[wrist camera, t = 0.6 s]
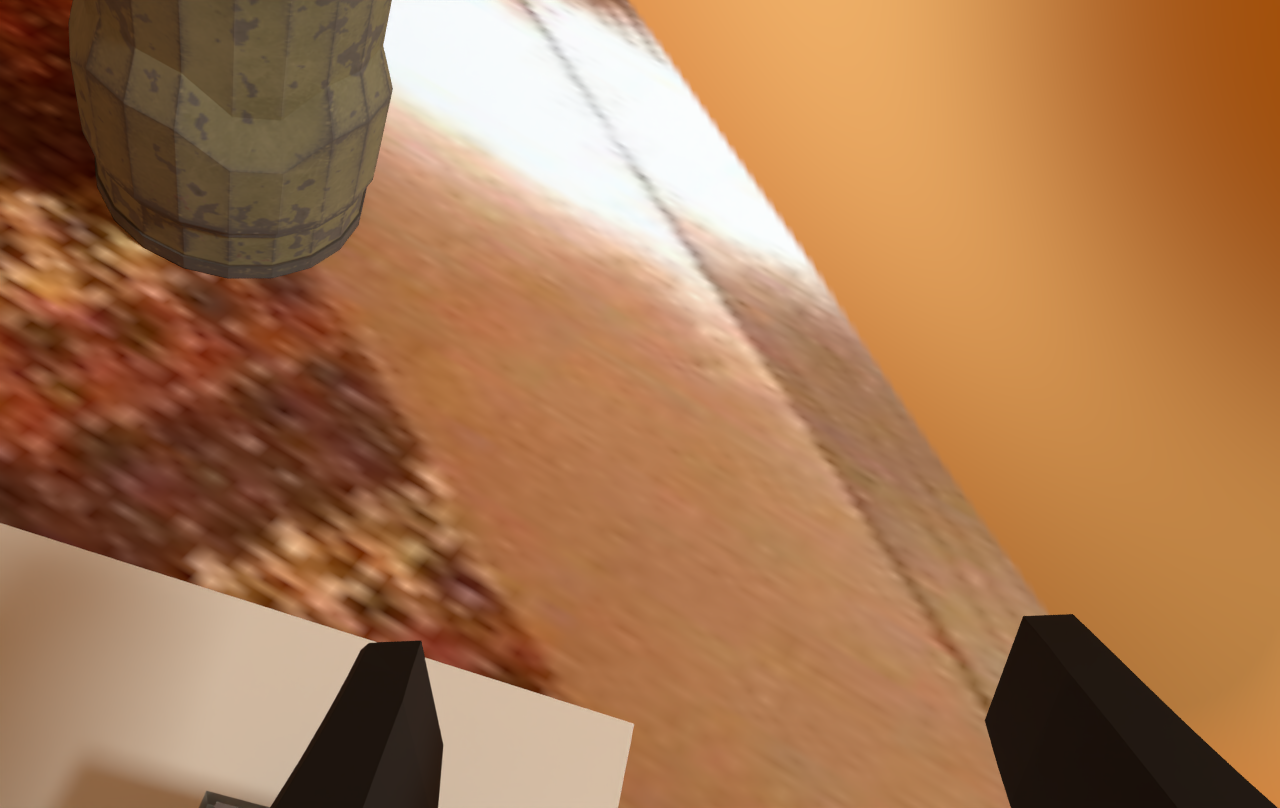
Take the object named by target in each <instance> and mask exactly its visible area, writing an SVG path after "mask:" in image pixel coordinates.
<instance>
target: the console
mask: <svg viewBox="0 0 1280 808" xmlns="http://www.w3.org/2000/svg"><path fill="white" fill-rule="evenodd" d="M368 643H377V642H374V641H371V640H368V639H365V638H361V637H358V636H355V635H352V634H349V633H346V632H342V631H339V630H336V629H333V628H330V627H327V626H324V625H320V624H317V623H314V622H311V621H308V620H305V619H301V618H298V617H295V616H292V615H289V614H286V613H283V612H279V611H276V610H273V609H270V608H267V607H264V606H260V605H257V604H254V603H251V602H248V601H245V600H241V599H238V598H235V597H232V596H229V595H226V594H223V593H219V592H216V591H213V590H210V589H207V588H204V587H200V586H197V585H194V584H191V583H188V582H185V581H182V580H178V579H175V578H172V577H169V576H166V575H163V574H159V573H156V572H153V571H150V570H147V569H144V568H141V567H137V566H134V565H131V564H128V563H125V562H122V561H118V560H115V559H112V558H109V557H106V556H103V555H99V554H96V553H93V552H90V551H87V550H84V549H81V548H77V547H74V546H71V545H68V544H65V543H62V542H58V541H55V540H52V539H49V538H46V537H43V536H40V535H36V534H33V533H30V532H27V531H24V530H21V529H17V528H14V527H11V526H8V525H5V524H2V523H0V808H214V806H215V804H216V802H221V803H224V804H228V805H232V806H236V807H240V808H270V807H271V805H272V804H273V802H274V800H275V799H276V797H277V796H278V794H279V792H280V791H281V789H282V788H283V786H284V784H285V783H286V781H287V780H288V778H289V776H290V775H291V773H292V772H293V770H294V768H295V767H296V765H297V764H298V762H299V760H300V759H301V757H302V755H303V754H304V752H305V750H306V749H307V747H308V745H309V743H310V742H311V740H312V738H313V737H314V735H315V733H316V731H317V730H318V728H319V726H320V725H321V723H322V721H323V719H324V718H325V716H326V714H327V712H328V711H329V709H330V707H331V705H332V703H333V702H334V700H335V698H336V696H337V694H338V693H339V691H340V689H341V687H342V685H343V683H344V681H345V679H346V678H347V676H348V674H349V672H350V670H351V668H352V666H353V664H354V662H355V660H356V658H357V656H358V654H359V652H360V650H361V649H362V648H363V647H365V646H366V645H367V644H368ZM425 661H426V665H427V670H428V675H429V680H430V684H431V689H432V694H433V698H434V703H435V708H436V712H437V717H438V722H439V727H440V731H441V736H442V741H443V757H442V769H441V781H440V793H439V803H438V808H618V805H619V799H620V794H621V789H622V784H623V779H624V774H625V769H626V763H627V758H628V753H629V748H630V743H631V738H632V732H633V727H634V724H633V723H630V722H626V721H623V720H620V719H617V718H614V717H611V716H608V715H604V714H601V713H598V712H595V711H592V710H589V709H585V708H582V707H579V706H576V705H573V704H570V703H567V702H563V701H560V700H557V699H554V698H551V697H548V696H544V695H541V694H538V693H535V692H532V691H529V690H525V689H522V688H519V687H516V686H513V685H510V684H507V683H503V682H500V681H497V680H494V679H491V678H488V677H484V676H481V675H478V674H475V673H472V672H469V671H466V670H462V669H459V668H456V667H453V666H450V665H447V664H443V663H440V662H437V661H434V660H431V659H428V658H425Z"/></svg>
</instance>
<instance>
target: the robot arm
mask: <svg viewBox="0 0 1280 808" xmlns="http://www.w3.org/2000/svg"><path fill="white" fill-rule="evenodd" d="M985 723H986V726H987V730H988V733H989V737H990V740H991V744H992V747H993V751H994V754H995V758H996V761H997V765H998V768H999V771H1000V774H1001V778H1002V781H1003V784H1004V787H1005V790H1006V793H1007V797H1008V800H1009V803H1010V806H1011V808H1277V807H1276V806H1275V805H1274V804H1273V803H1272V802H1271V801H1269V800H1268V799H1267V798H1266V797H1265V796H1264V795H1263V794H1262V793H1260V792H1259V791H1258V790H1257V789H1256V788H1255V787H1254V786H1253V785H1251V784H1250V783H1249V782H1248V781H1247V780H1246V779H1245V778H1244V777H1243V776H1242V775H1240V774H1239V773H1238V772H1237V771H1236V770H1235V769H1234V768H1233V767H1232V766H1231V765H1229V763H1227V762H1226V761H1225V760H1224V759H1223V758H1222V757H1221V756H1220V755H1219V754H1218V753H1217V752H1216V751H1215V750H1213V749H1212V748H1211V747H1210V746H1209V745H1208V744H1207V743H1206V742H1205V741H1204V740H1203V739H1202V738H1201V737H1200V736H1198V735H1197V734H1196V733H1195V732H1194V731H1193V730H1192V729H1191V728H1190V727H1189V726H1188V725H1187V724H1186V723H1185V722H1184V721H1182V720H1181V718H1179V717H1178V716H1177V715H1176V714H1175V713H1174V712H1173V711H1172V710H1171V709H1170V708H1169V707H1168V706H1167V705H1166V704H1165V703H1164V702H1163V701H1162V700H1161V699H1160V698H1159V697H1158V696H1157V695H1156V694H1155V693H1154V692H1153V691H1151V690H1150V689H1149V688H1148V687H1147V686H1146V685H1145V684H1144V683H1143V682H1142V681H1141V680H1140V679H1139V678H1138V677H1137V676H1136V675H1135V674H1134V673H1133V672H1132V671H1131V670H1130V669H1129V668H1128V667H1127V666H1126V665H1125V664H1124V663H1123V662H1122V661H1121V660H1120V659H1119V658H1118V657H1117V656H1116V655H1114V653H1112V652H1111V651H1110V650H1109V649H1108V648H1107V647H1106V646H1105V645H1104V644H1103V643H1102V642H1101V641H1100V640H1099V639H1098V638H1097V637H1096V636H1095V635H1094V634H1093V633H1092V632H1091V631H1090V630H1089V629H1088V628H1087V627H1085V625H1084V624H1082V623H1081V622H1080V621H1079V620H1078V619H1077V618H1076V617H1075V616H1074V615H1073V614H1069V615H1042V616H1023V618H1022V621H1021V624H1020V626H1019V629H1018V632H1017V635H1016V637H1015V640H1014V643H1013V645H1012V648H1011V651H1010V654H1009V656H1008V659H1007V662H1006V664H1005V667H1004V670H1003V673H1002V675H1001V678H1000V681H999V683H998V686H997V689H996V692H995V694H994V697H993V700H992V702H991V705H990V708H989V711H988V713H987V716H986V719H985ZM442 757H443V741H442V736H441V731H440V727H439V722H438V717H437V712H436V708H435V703H434V698H433V694H432V689H431V684H430V680H429V675H428V670H427V665H426V661H425V656H424V651H423V647H422V642H421V641H402V642H377V643H368V644H367V645H366V646H365V647H363V648H362V649H361V650H360V652H359V654H358V656H357V658H356V660H355V662H354V664H353V666H352V668H351V670H350V672H349V674H348V676H347V678H346V679H345V681H344V683H343V685H342V687H341V689H340V691H339V693H338V694H337V696H336V698H335V700H334V702H333V703H332V705H331V707H330V709H329V711H328V712H327V714H326V716H325V718H324V719H323V721H322V723H321V725H320V726H319V728H318V730H317V731H316V733H315V735H314V737H313V738H312V740H311V742H310V743H309V745H308V747H307V749H306V750H305V752H304V754H303V755H302V757H301V759H300V760H299V762H298V764H297V765H296V767H295V768H294V770H293V772H292V773H291V775H290V776H289V778H288V780H287V781H286V783H285V784H284V786H283V788H282V789H281V791H280V792H279V794H278V796H277V797H276V799H275V800H274V802H273V804H272V805H271V807H270V808H438V803H439V793H440V781H441V769H442Z"/></svg>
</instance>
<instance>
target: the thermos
mask: <svg viewBox="0 0 1280 808" xmlns="http://www.w3.org/2000/svg"><path fill="white" fill-rule="evenodd" d="M391 1H392V0H73V2H72V8H71V13H70V18H69V46H70V62H71V68H72V74H73V79H74V85H75V91H76V97H77V103H78V109H79V115H80V120H81V126H82V132H83V134H84V136H85V138H86V140H87V142H88V143H89V145H90V147H91V149H92V151H93V153H94V155H95V172H96V180H97V187H98V189H99V191H100V193H101V195H102V197H103V199H104V201H105V203H106V205H107V207H108V209H109V211H110V213H111V214H112V216H113V218H114V220H115V221H116V222H117V223H118V224H119V225H120V226H121V227H123V228H124V229H125V230H126V231H127V232H128V233H129V234H130V235H131V236H132V237H133V238H134V239H135V240H137V241H138V242H139V243H140V244H141V245H142V246H143V247H144V248H146V249H148V250H150V251H152V252H154V253H156V254H158V255H160V256H162V257H164V258H165V259H167V260H169V261H171V262H173V263H175V264H177V265H179V266H181V267H183V268H186V269H191V270H195V271H199V272H204V273H208V274H212V275H216V276H221V277H225V278H274V277H278V276H282V275H285V274H289V273H293V272H297V271H301V270H304V269H308V268H311V267H313V266H314V265H316V264H317V263H319V262H321V261H322V260H324V259H325V258H327V257H329V256H330V255H332V254H333V253H335V252H337V251H338V250H340V249H341V247H342V246H343V245H344V243H345V242H346V241H347V239H348V238H349V237H350V235H351V234H352V233H353V231H354V230H355V229H356V227H357V226H358V224H359V220H360V215H361V211H362V207H363V202H364V198H365V193H366V189H367V186H368V185H369V184H370V182H371V181H372V180H373V176H374V172H375V167H376V163H377V159H378V154H379V150H380V145H381V141H382V136H383V131H384V127H385V122H386V117H387V113H388V108H389V104H390V99H391V94H392V90H393V88H392V83H391V79H390V74H389V70H388V65H387V61H386V56H385V52H384V48H383V43H384V37H385V32H386V27H387V22H388V17H389V12H390V7H391Z"/></svg>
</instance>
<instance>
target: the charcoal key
mask: <svg viewBox="0 0 1280 808" xmlns="http://www.w3.org/2000/svg"><path fill="white" fill-rule="evenodd" d="M214 808H240V807H236V806H232V805H228V804H224V803H221V802H216V804H215V806H214Z"/></svg>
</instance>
